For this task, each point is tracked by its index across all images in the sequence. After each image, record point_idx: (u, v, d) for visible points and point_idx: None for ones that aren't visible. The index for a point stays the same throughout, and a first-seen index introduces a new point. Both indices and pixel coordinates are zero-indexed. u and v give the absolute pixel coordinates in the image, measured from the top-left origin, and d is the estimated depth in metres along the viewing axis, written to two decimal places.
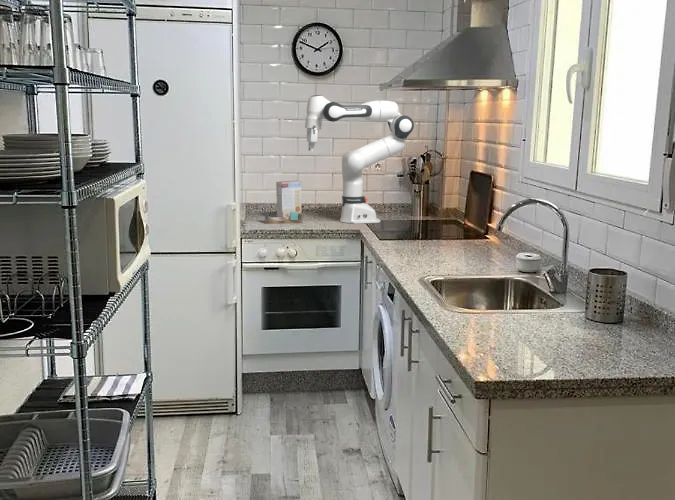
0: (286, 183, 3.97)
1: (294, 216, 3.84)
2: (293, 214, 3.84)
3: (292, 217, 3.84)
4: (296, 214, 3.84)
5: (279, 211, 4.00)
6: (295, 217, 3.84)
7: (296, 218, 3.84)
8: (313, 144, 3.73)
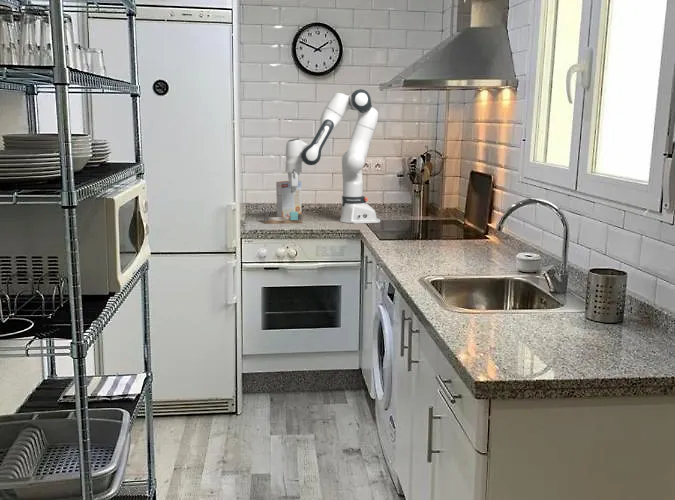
0: (286, 183, 3.97)
1: (294, 216, 3.84)
2: (293, 214, 3.84)
3: (292, 217, 3.84)
4: (296, 214, 3.84)
5: (279, 211, 4.00)
6: (295, 217, 3.84)
7: (296, 218, 3.84)
8: (294, 188, 3.77)
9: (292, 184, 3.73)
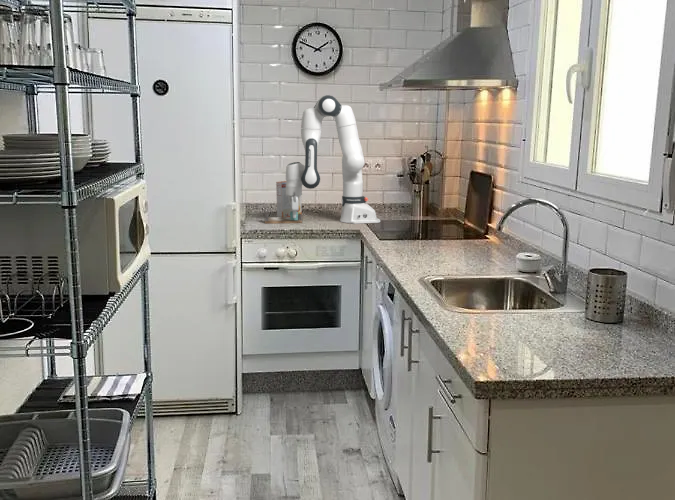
0: None
1: None
2: None
3: (292, 217, 3.84)
4: (296, 214, 3.84)
5: (279, 211, 4.00)
6: None
7: (296, 218, 3.84)
8: (295, 211, 3.81)
9: (293, 207, 3.75)
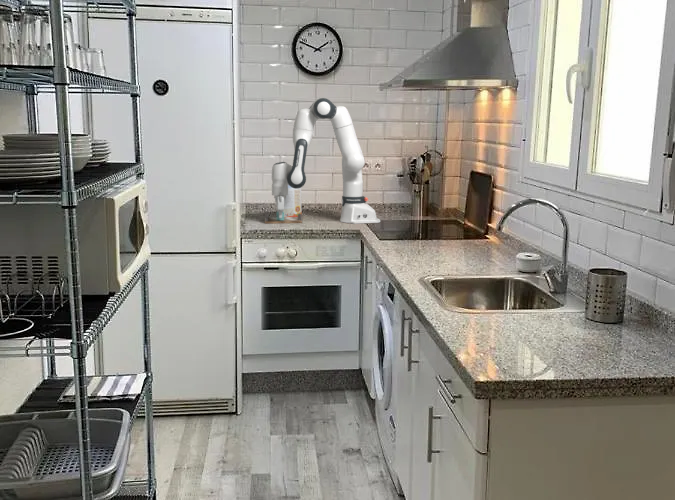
0: None
1: None
2: None
3: (278, 217, 3.83)
4: (282, 214, 3.83)
5: None
6: None
7: (282, 218, 3.83)
8: (281, 211, 3.80)
9: (278, 207, 3.74)
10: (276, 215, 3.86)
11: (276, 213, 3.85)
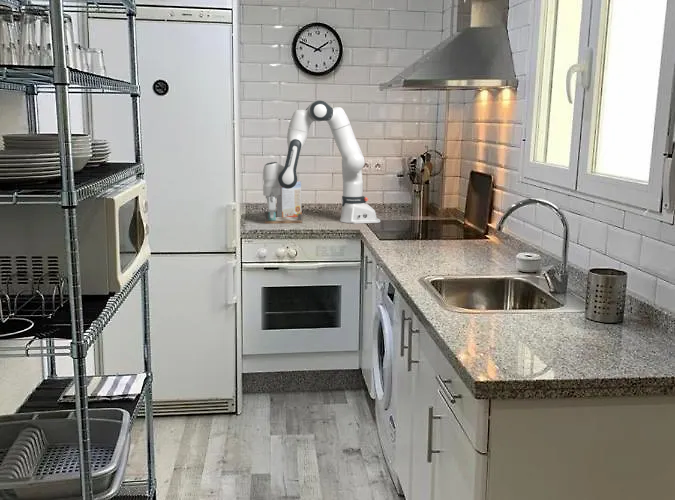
0: None
1: None
2: None
3: None
4: (274, 214, 3.82)
5: (279, 211, 4.00)
6: (273, 217, 3.83)
7: (274, 218, 3.83)
8: (272, 211, 3.79)
9: (270, 208, 3.74)
10: None
11: (268, 213, 3.85)
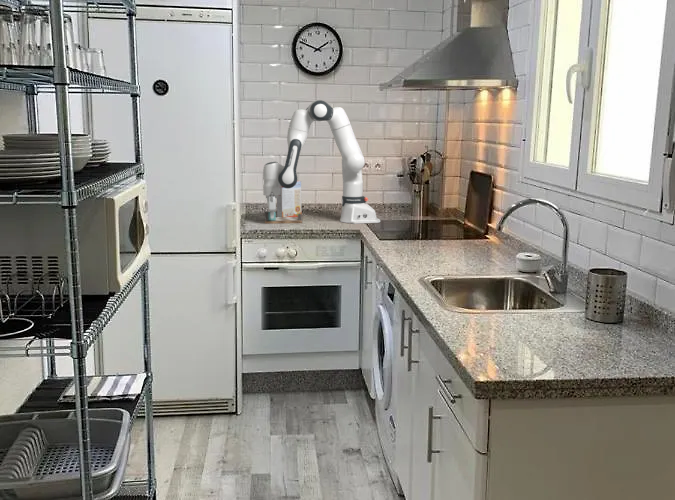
0: None
1: None
2: None
3: (270, 217, 3.82)
4: (274, 214, 3.82)
5: (279, 211, 4.00)
6: None
7: (274, 218, 3.83)
8: (273, 211, 3.78)
9: (270, 207, 3.74)
10: None
11: (268, 213, 3.85)
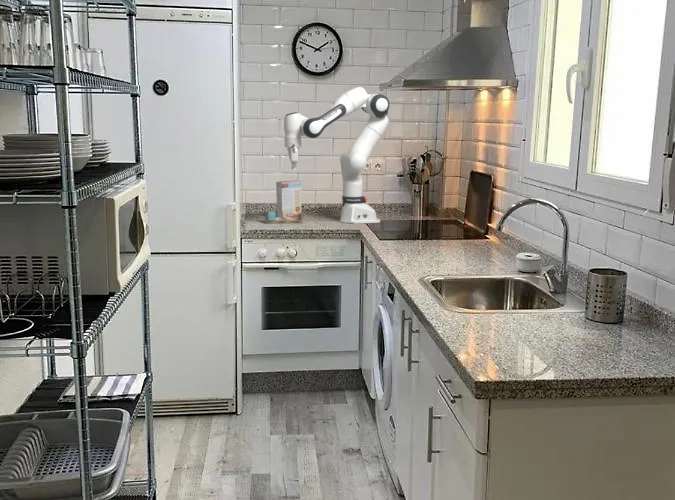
0: (286, 183, 3.97)
1: (272, 216, 3.82)
2: (271, 214, 3.82)
3: (270, 217, 3.82)
4: (274, 214, 3.82)
5: (279, 211, 4.00)
6: (273, 217, 3.83)
7: (274, 218, 3.83)
8: (295, 163, 3.66)
9: (292, 159, 3.62)
10: None
11: (268, 213, 3.85)
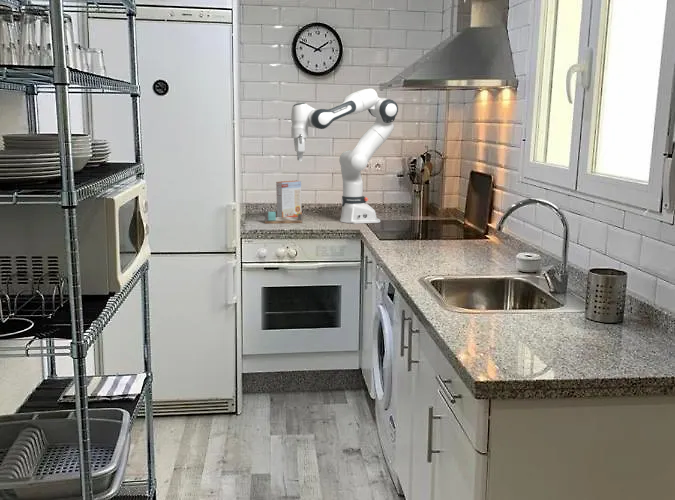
0: (286, 183, 3.97)
1: (272, 216, 3.82)
2: (271, 214, 3.82)
3: (270, 217, 3.82)
4: (274, 214, 3.82)
5: (279, 211, 4.00)
6: (273, 217, 3.83)
7: (274, 218, 3.83)
8: (301, 154, 3.63)
9: (299, 149, 3.59)
10: None
11: (268, 213, 3.85)
